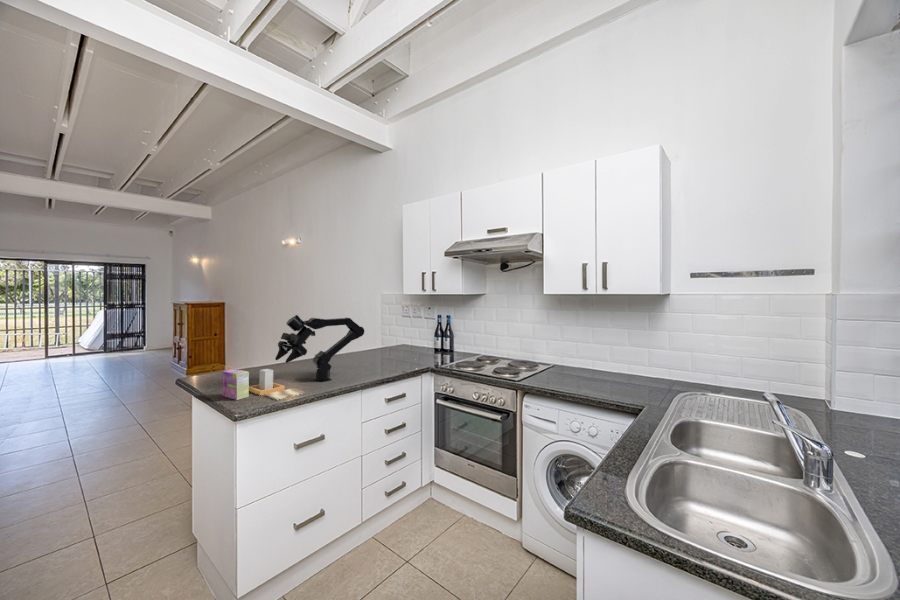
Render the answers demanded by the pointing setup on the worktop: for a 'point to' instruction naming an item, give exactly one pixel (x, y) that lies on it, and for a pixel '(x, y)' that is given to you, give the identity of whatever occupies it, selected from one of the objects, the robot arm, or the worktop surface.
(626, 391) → the worktop surface
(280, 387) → the square wooden frame
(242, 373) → the box
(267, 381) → the block
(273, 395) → the board
